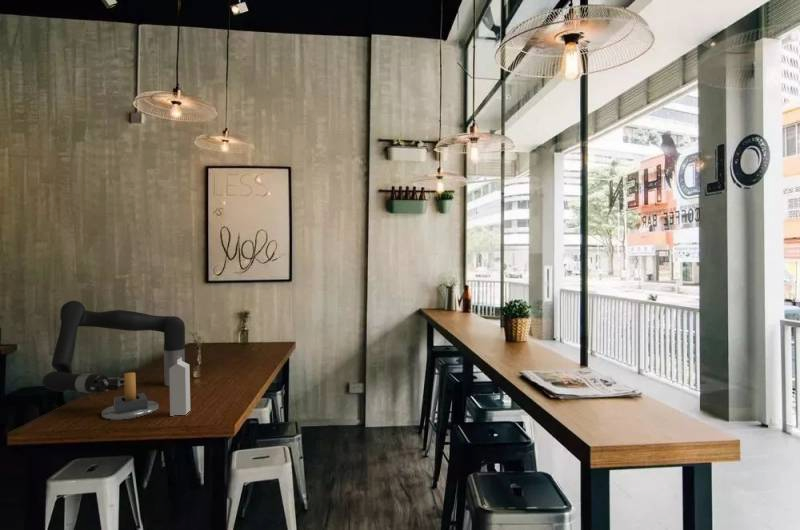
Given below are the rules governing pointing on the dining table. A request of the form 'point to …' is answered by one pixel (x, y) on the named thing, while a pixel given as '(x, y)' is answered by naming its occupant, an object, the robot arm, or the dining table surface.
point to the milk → (179, 388)
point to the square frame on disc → (130, 408)
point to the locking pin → (130, 386)
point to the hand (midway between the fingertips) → (125, 384)
